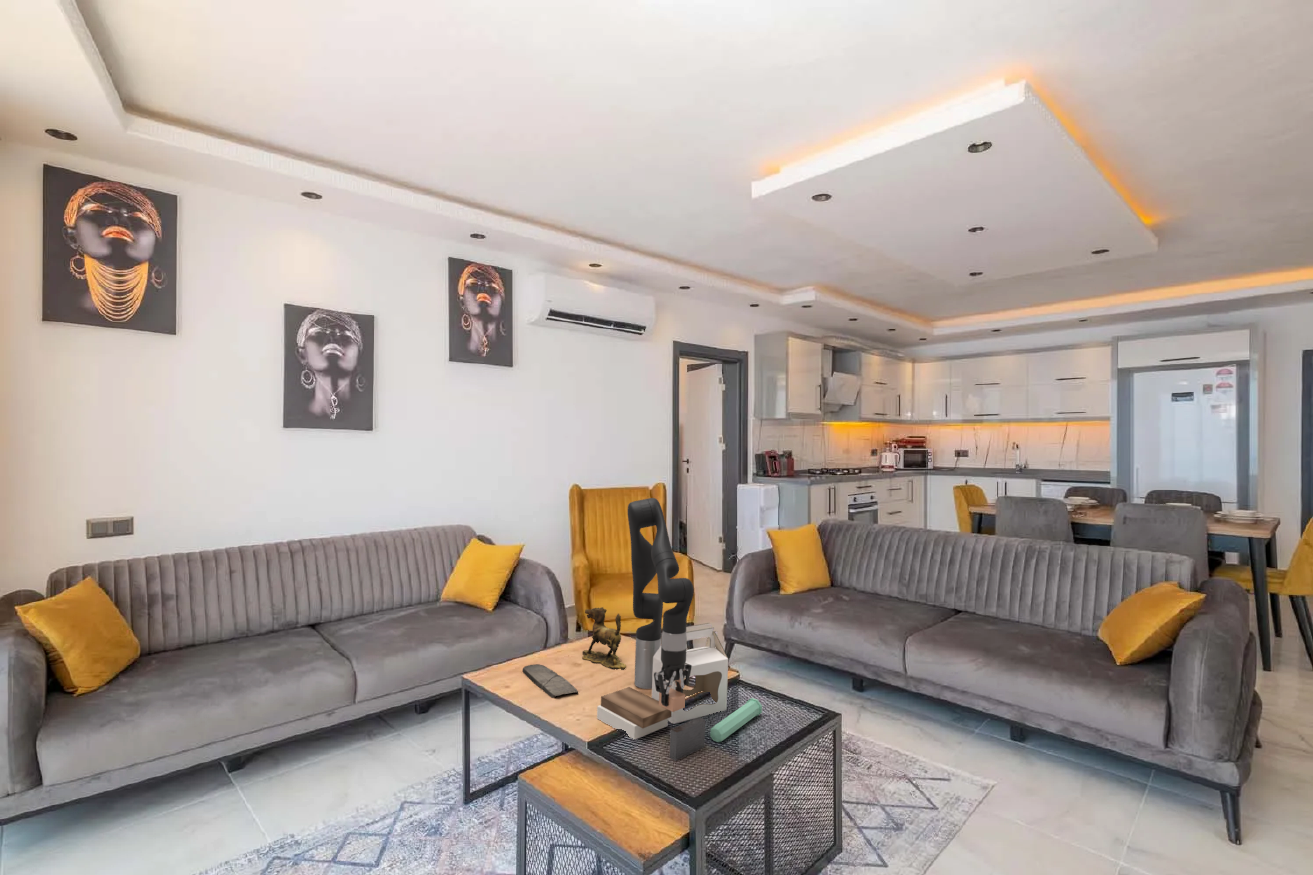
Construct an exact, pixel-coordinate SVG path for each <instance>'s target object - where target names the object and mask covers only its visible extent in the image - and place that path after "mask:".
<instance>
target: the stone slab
mask: <svg viewBox="0 0 1313 875" xmlns="http://www.w3.org/2000/svg"><path fill="white" fill-rule="evenodd" d="M522 672H523V673H522V674H524V675H525V677H527V679H528V680H530V681H531V682H532V683H533V684H534V685H535V686H536V687H538V688H539V689H540V690H541V691H543V692H544V694H546V695H547V696H548V697H549V698H552V699H555V697H556V696H557V697H559V696H561V695H566V694H567V695H568V694H572V693H575V694H577V695H578V694H579V690H577V688H576V687H575V686H574V685H573V684H571V682H570V681H568V680H567V679H566V678H565V677H563V676H562V675H560V674H558V673H557V672H555V671H554V670H552V669H551V668H549V667H547V666H545V665H544V664H539V663H537V664H534V663H533V664H528V665H525V666H524V667H523V668H522Z"/></svg>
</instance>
